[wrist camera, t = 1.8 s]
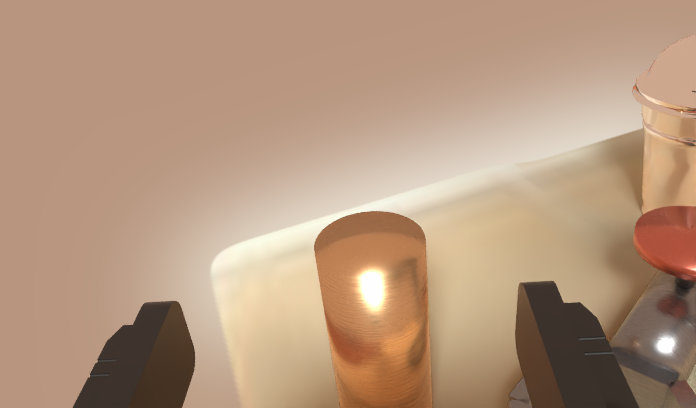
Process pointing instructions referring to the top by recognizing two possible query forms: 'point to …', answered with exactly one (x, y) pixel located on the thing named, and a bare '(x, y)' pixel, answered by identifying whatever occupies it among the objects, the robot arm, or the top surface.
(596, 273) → the top surface
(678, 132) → the cup with straw
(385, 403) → the copper cylinder
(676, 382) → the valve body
